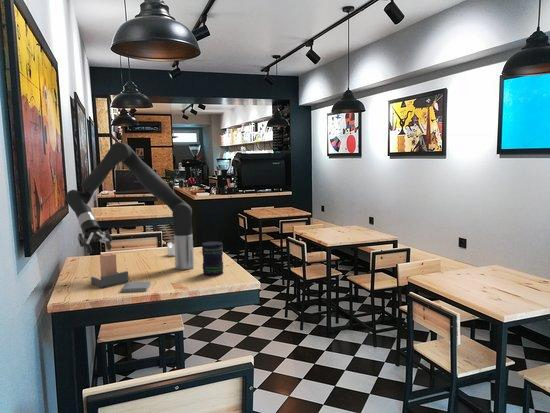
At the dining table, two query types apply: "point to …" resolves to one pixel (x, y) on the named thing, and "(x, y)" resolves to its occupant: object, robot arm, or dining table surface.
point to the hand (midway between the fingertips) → (100, 250)
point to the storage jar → (212, 258)
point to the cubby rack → (110, 280)
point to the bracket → (171, 249)
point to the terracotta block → (108, 264)
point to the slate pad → (136, 286)
